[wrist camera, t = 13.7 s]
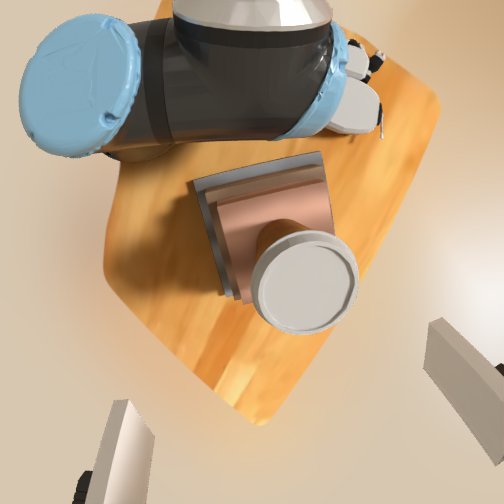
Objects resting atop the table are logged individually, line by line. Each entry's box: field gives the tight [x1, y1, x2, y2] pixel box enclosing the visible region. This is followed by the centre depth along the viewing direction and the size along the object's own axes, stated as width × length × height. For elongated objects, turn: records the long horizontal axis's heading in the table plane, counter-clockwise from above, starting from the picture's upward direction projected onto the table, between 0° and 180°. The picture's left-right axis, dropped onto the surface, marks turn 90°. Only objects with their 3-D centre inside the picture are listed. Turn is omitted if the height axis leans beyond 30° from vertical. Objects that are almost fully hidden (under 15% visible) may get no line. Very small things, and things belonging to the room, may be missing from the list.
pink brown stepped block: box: [193, 151, 335, 305], centre depth 41 cm, size 18×18×10 cm
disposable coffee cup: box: [250, 219, 359, 335], centre depth 31 cm, size 10×10×12 cm
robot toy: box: [325, 39, 386, 140], centre depth 38 cm, size 12×4×15 cm
